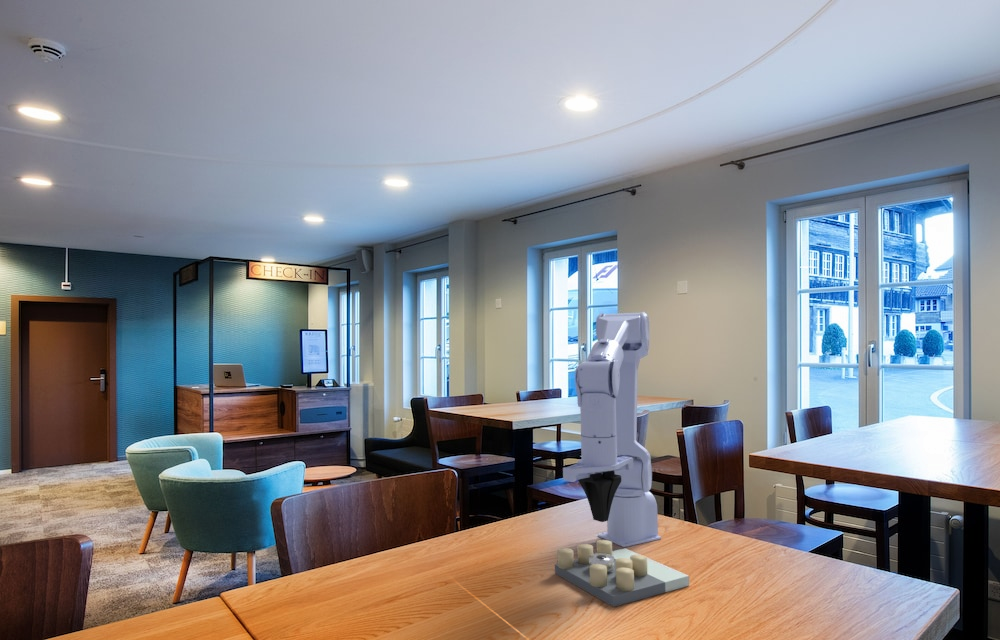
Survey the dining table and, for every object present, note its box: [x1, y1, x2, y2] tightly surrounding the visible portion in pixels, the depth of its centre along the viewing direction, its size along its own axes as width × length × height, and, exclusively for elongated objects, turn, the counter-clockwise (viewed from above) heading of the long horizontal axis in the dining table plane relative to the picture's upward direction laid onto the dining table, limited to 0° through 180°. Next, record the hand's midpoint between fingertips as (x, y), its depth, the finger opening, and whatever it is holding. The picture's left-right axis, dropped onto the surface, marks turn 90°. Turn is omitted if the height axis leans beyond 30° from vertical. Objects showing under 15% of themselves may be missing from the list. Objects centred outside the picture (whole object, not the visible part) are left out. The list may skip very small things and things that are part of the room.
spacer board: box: [554, 539, 690, 608], centre depth 98 cm, size 15×15×4 cm
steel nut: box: [589, 552, 614, 574], centre depth 98 cm, size 4×4×2 cm
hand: (600, 520), depth 98 cm, fingers closed
